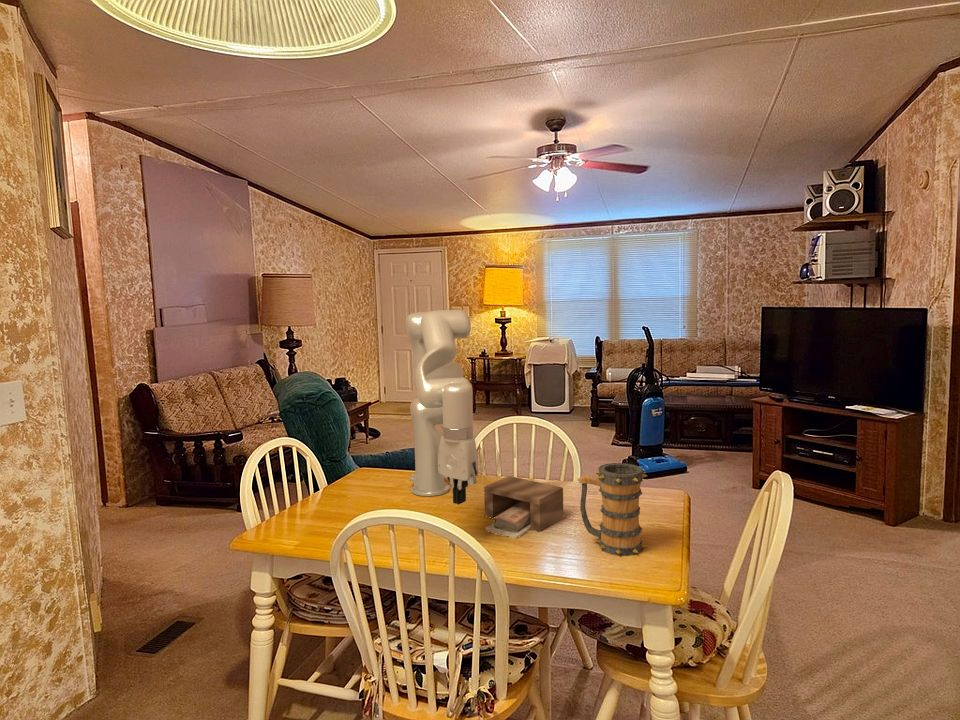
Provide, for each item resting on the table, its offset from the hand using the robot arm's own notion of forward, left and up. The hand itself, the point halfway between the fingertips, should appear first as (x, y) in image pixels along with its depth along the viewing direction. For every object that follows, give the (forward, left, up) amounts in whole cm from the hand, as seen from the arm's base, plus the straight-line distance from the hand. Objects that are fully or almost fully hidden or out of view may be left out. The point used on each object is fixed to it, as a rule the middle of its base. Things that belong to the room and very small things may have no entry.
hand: (459, 502), depth 150 cm
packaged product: (+4, +19, -12) cm, 23 cm away
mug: (+32, +21, -11) cm, 40 cm away
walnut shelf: (+3, +24, -11) cm, 27 cm away
